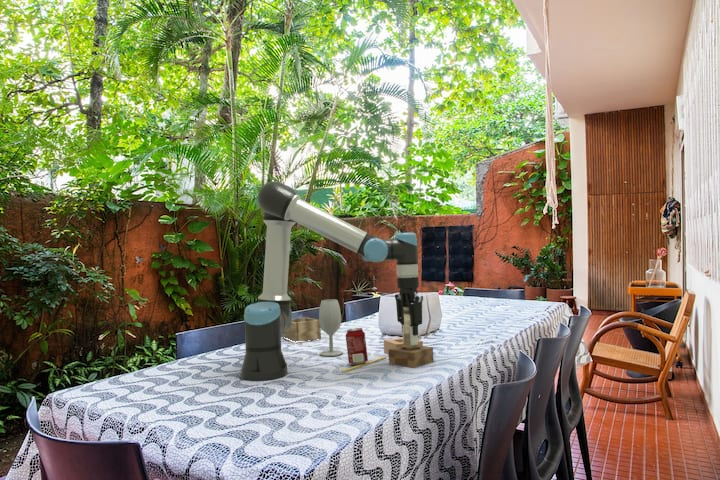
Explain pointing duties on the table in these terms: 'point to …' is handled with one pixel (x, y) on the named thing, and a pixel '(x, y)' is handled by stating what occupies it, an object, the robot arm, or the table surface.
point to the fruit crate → (303, 329)
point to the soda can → (356, 346)
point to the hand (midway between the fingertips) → (410, 343)
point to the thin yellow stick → (363, 364)
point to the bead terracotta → (396, 344)
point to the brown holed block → (411, 356)
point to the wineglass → (330, 323)
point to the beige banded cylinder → (407, 329)
